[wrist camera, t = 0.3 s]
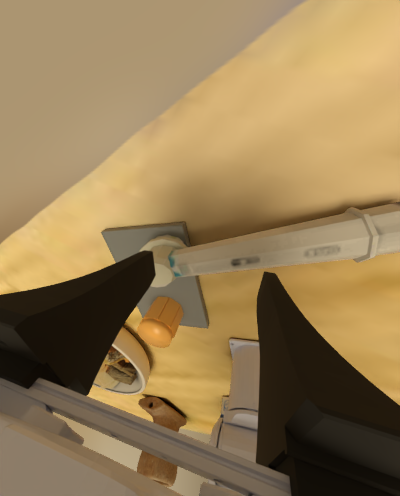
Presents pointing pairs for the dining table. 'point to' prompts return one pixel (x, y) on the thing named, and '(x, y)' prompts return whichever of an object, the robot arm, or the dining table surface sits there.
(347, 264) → the dining table surface
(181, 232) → the charcoal board
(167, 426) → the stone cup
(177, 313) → the orange cap
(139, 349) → the bowl
